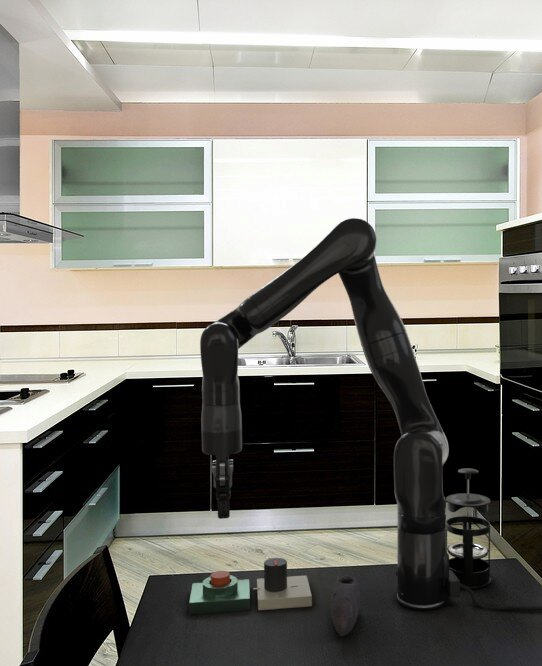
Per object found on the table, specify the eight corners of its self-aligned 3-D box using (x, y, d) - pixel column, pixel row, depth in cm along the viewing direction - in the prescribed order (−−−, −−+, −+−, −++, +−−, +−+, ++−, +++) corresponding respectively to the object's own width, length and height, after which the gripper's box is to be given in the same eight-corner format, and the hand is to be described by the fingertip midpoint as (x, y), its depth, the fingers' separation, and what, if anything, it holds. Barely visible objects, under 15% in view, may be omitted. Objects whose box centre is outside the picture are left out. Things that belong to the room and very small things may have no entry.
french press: (492, 592, 133) (493, 476, 132) (444, 589, 134) (444, 475, 134) (489, 569, 145) (489, 463, 144) (444, 567, 146) (445, 461, 145)
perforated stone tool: (356, 645, 112) (355, 604, 112) (324, 644, 113) (324, 603, 113) (362, 605, 127) (362, 569, 127) (334, 604, 128) (334, 568, 128)
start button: (230, 578, 131) (229, 570, 131) (229, 586, 128) (229, 577, 128) (211, 580, 131) (211, 571, 131) (210, 587, 127) (210, 578, 127)
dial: (263, 583, 133) (263, 557, 133) (286, 581, 134) (285, 555, 133) (264, 593, 128) (264, 565, 128) (288, 591, 129) (287, 563, 129)
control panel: (306, 584, 137) (306, 574, 137) (311, 606, 127) (311, 595, 127) (252, 588, 135) (252, 578, 135) (253, 610, 125) (253, 599, 125)
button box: (249, 590, 135) (249, 570, 134) (249, 610, 126) (249, 588, 126) (192, 594, 133) (192, 574, 133) (189, 614, 124) (188, 593, 124)
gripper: (242, 432, 123) (244, 526, 123) (241, 420, 136) (243, 506, 136) (200, 434, 122) (202, 529, 122) (203, 422, 135) (205, 508, 135)
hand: (223, 517), depth 129 cm, fingers closed
